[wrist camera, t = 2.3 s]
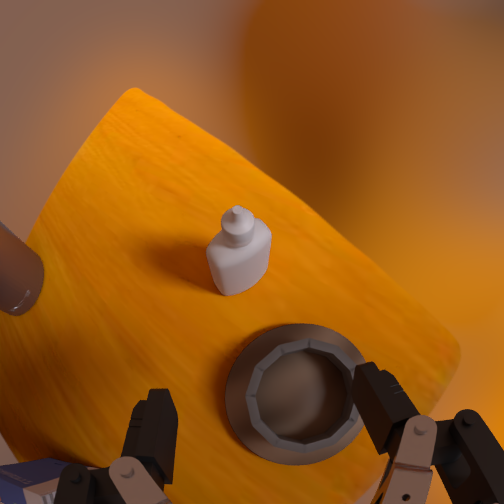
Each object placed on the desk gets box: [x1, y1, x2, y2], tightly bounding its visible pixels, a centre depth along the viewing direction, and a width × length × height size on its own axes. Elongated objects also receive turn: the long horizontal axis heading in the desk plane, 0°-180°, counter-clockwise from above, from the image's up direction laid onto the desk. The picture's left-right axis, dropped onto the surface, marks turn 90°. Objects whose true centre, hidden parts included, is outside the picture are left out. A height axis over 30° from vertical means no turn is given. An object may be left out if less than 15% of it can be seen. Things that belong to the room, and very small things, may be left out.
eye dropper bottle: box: [206, 205, 272, 296], centre depth 25 cm, size 4×6×12 cm
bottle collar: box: [225, 324, 366, 465], centre depth 24 cm, size 14×14×4 cm
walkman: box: [0, 458, 100, 504], centre depth 15 cm, size 8×3×12 cm, turn 97°
